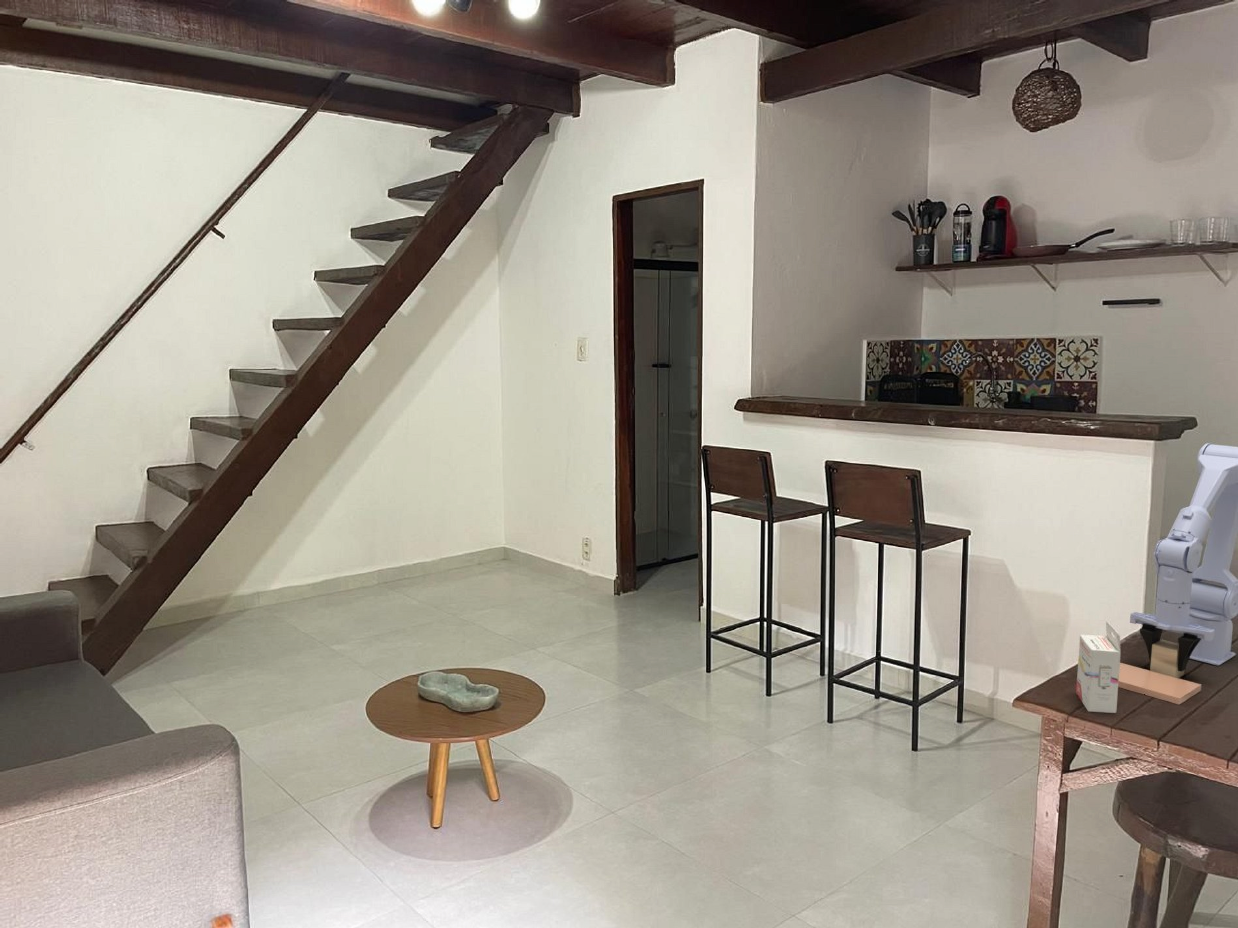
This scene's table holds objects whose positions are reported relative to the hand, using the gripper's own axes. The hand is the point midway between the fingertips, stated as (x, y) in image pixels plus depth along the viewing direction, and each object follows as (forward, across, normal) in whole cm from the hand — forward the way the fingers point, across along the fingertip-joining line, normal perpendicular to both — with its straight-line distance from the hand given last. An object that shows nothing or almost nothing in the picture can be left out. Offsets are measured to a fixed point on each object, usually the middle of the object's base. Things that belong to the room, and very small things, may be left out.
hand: (1167, 666), depth 183 cm
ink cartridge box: (+2, -2, -25) cm, 25 cm away
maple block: (+2, 0, 0) cm, 2 cm away
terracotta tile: (+2, 0, -9) cm, 9 cm away
